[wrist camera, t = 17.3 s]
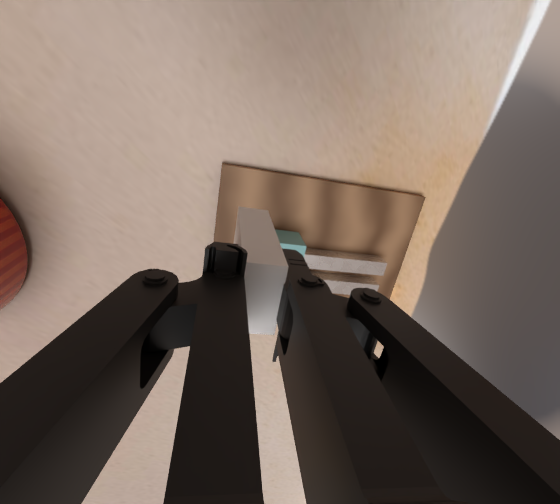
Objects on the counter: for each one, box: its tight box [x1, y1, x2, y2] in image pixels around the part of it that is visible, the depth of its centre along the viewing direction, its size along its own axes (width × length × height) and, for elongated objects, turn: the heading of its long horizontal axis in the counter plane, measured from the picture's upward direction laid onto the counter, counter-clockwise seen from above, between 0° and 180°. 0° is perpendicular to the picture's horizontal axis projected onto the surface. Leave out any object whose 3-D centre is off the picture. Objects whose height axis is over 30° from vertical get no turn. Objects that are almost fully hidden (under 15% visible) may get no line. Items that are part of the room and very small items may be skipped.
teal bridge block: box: [275, 229, 307, 257], centre depth 43 cm, size 4×10×5 cm, turn 170°
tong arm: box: [304, 248, 387, 276], centre depth 45 cm, size 19×3×3 cm, turn 80°
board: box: [214, 163, 425, 299], centre depth 46 cm, size 28×19×1 cm
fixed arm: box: [311, 271, 379, 295], centre depth 46 cm, size 23×2×2 cm, turn 80°
